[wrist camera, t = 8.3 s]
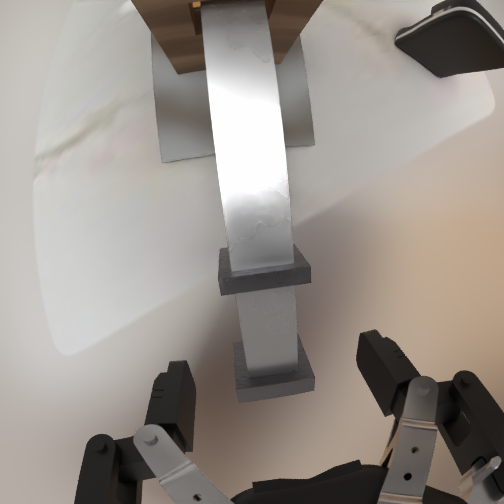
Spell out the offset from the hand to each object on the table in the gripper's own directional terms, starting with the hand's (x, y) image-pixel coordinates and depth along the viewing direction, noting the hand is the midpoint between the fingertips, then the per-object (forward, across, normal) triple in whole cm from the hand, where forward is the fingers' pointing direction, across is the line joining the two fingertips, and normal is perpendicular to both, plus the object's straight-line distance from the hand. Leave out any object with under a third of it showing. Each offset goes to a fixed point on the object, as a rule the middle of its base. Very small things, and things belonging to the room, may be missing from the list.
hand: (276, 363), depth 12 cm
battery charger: (+14, -20, -20) cm, 32 cm away
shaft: (+6, 0, -6) cm, 9 cm away
